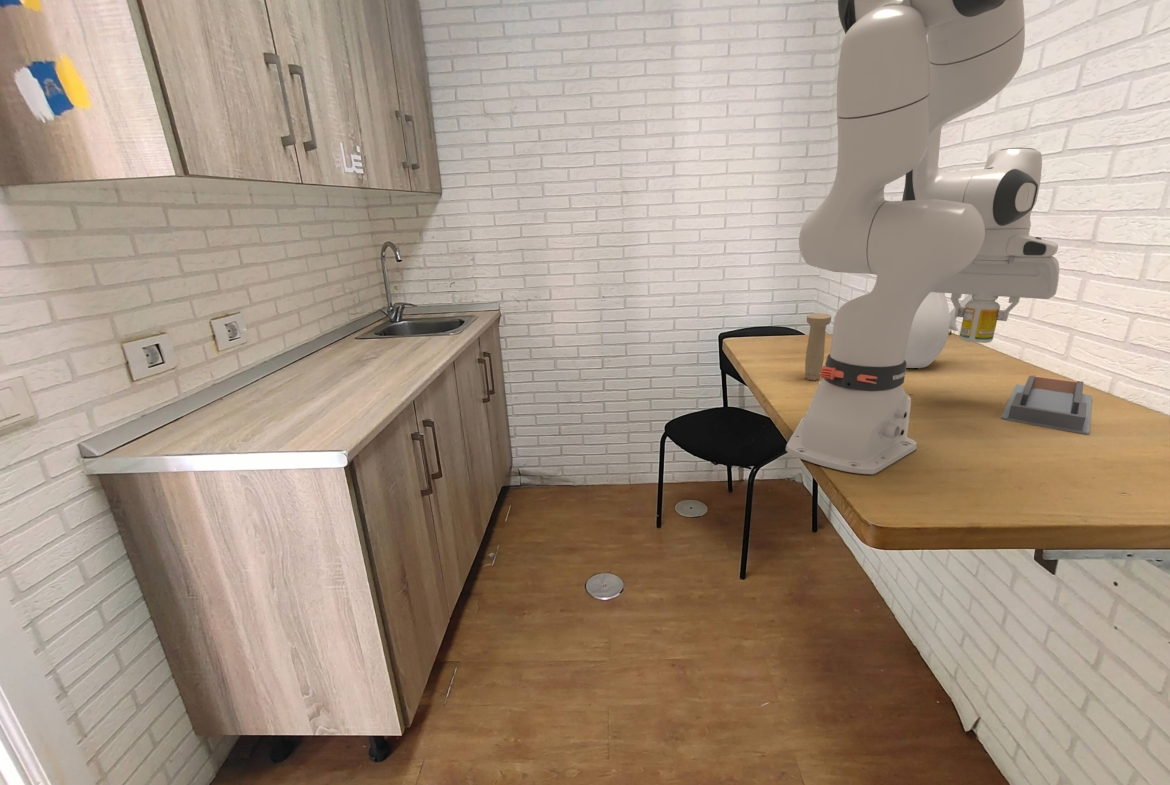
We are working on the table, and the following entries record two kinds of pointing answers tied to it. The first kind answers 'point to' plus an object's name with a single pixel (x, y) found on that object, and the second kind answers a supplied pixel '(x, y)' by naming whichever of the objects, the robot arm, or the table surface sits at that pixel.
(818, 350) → the handle
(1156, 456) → the table surface
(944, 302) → the pitcher
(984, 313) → the supplement bottle
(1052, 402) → the gray rectangular stand
